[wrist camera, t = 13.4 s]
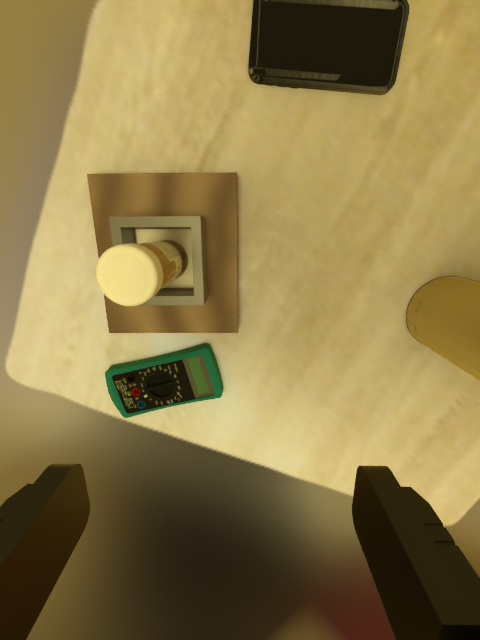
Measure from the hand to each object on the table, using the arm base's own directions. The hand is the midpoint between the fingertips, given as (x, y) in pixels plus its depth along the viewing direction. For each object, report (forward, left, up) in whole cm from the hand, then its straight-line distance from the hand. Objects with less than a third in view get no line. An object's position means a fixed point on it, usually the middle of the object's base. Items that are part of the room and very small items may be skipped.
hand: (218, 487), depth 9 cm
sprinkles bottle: (+8, -4, -28) cm, 29 cm away
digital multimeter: (+10, +12, -31) cm, 35 cm away
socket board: (+8, -4, -30) cm, 31 cm away
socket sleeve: (+8, -4, -28) cm, 29 cm away
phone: (-9, -25, -31) cm, 41 cm away
